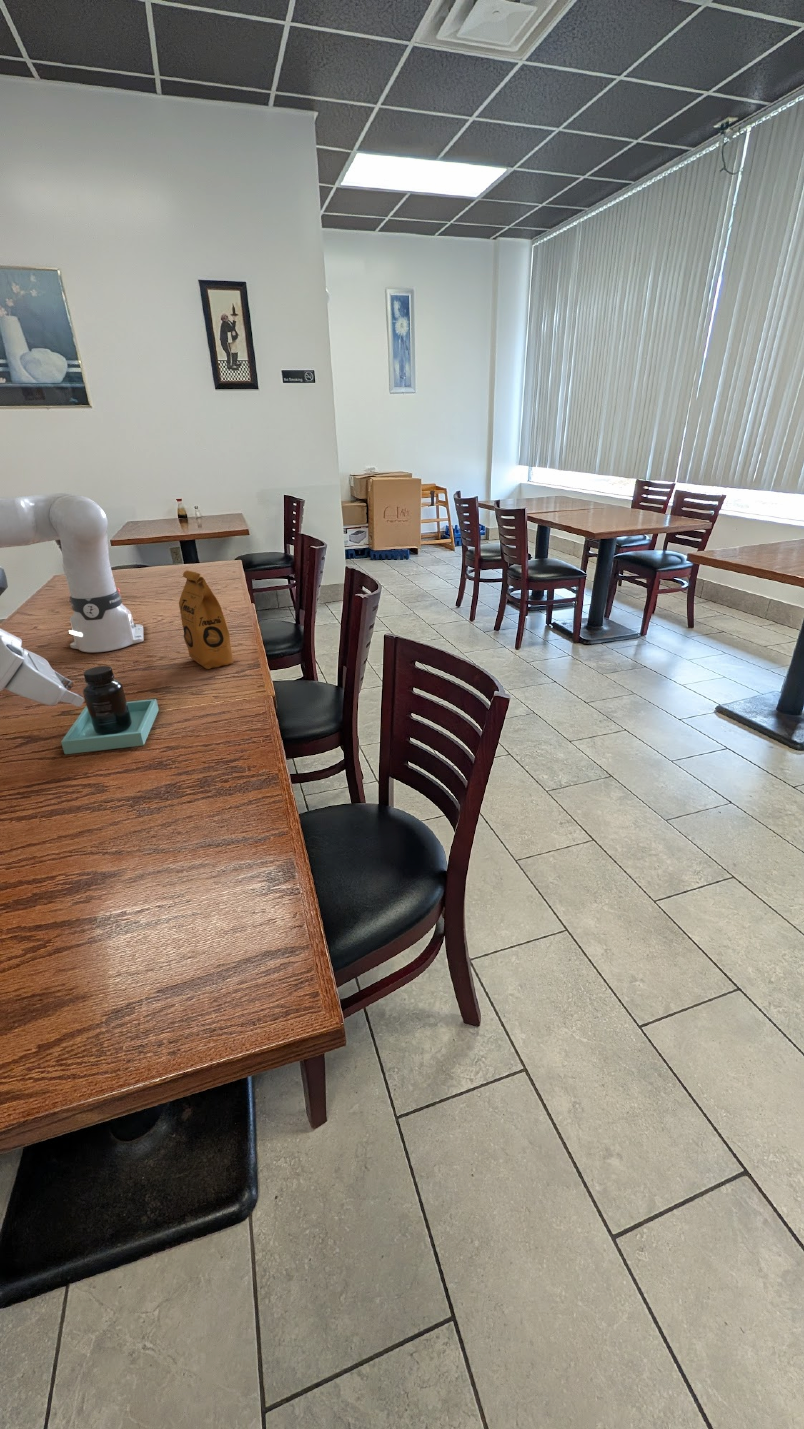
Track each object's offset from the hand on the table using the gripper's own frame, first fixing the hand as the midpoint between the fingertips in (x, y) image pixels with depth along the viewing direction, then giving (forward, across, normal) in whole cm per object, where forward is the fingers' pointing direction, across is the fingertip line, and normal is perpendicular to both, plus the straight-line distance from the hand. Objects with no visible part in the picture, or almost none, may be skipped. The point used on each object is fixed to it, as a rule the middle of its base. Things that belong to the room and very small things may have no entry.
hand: (76, 694), depth 107 cm
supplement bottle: (+9, 0, -3) cm, 10 cm away
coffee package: (+30, -25, +17) cm, 43 cm away
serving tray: (+10, 0, -3) cm, 10 cm away
